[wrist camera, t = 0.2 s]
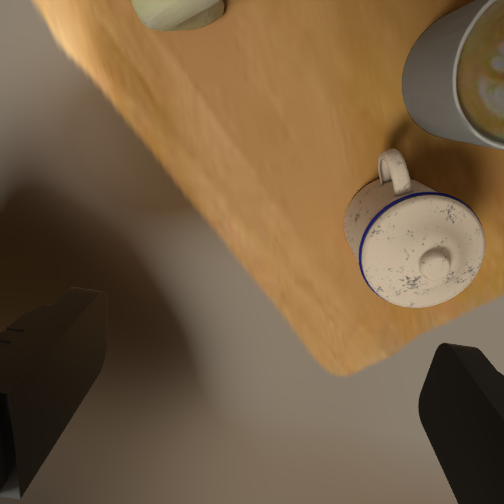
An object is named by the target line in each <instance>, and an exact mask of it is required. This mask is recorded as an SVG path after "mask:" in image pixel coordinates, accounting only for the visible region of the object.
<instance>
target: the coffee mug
mask: <svg viewBox="0 0 504 504" xmlns="http://www.w3.org/2000/svg"><path fill="white" fill-rule="evenodd" d="M402 94H403V99H404V103H405V106H406V109H407V111H408V113H409V115H410V116H411V118H412V119H413V120H414V122H415V123H416V124H417V125H418V126H419V127H421V128H422V129H423V130H424V131H426V132H428V133H429V134H432V135H434V136H437V137H441V138H446V139H451V140H456V141H460V142H465V143H470V144H475V145H480V146H485V147H490V148H495V149H500V150H504V0H475V1H473V2H471V3H469V4H467V5H465V6H463V7H461V8H459V9H457V10H455V11H453V12H451V13H449V14H447V15H445V16H444V17H442V18H440V19H439V20H437V21H435V22H434V23H433V24H432V25H431V26H429V27H428V28H427V29H426V30H425V31H424V32H423V33H422V34H421V36H420V37H419V38H418V39H417V41H416V42H415V44H414V46H413V47H412V49H411V51H410V53H409V55H408V57H407V60H406V63H405V66H404V70H403V75H402Z"/></svg>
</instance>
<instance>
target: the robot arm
mask: <svg viewBox="0 0 504 504" xmlns="http://www.w3.org/2000/svg"><path fill="white" fill-rule="evenodd" d="M106 351H107V296H106V294H105V292H102V291H95V290H88V289H81V288H75V287H72V288H70V289H69V290H67V291H66V292H65V293H64V294H63V295H62V296H61V297H60V298H59V299H58V300H57V301H56V302H54V303H53V304H52V305H42V306H40V307H37V308H35V309H33V310H31V311H28V312H26V313H24V314H22V315H21V316H20V317H18V318H17V319H16V320H15V321H14V322H13V323H11V324H10V325H9V326H8V327H7V328H6V331H2V332H1V333H0V496H2V497H8V498H15V499H21V497H22V496H23V494H24V492H25V491H26V489H27V488H28V486H29V485H30V483H31V482H32V480H33V478H34V476H35V475H36V474H37V472H38V470H39V469H40V467H41V465H42V464H43V463H44V461H45V459H46V458H47V456H48V455H49V453H50V451H51V450H52V448H53V446H54V445H55V444H56V442H57V440H58V439H59V437H60V436H61V434H62V432H63V431H64V429H65V428H66V426H67V425H68V423H69V421H70V420H71V418H72V417H73V415H74V413H75V412H76V410H77V409H78V407H79V405H80V404H81V402H82V401H83V399H84V398H85V396H86V394H87V393H88V391H89V390H90V388H91V387H92V385H93V383H94V382H95V380H96V379H97V377H98V375H99V374H100V372H101V370H102V367H103V364H104V361H105V357H106ZM418 407H419V416H420V420H421V423H422V425H423V427H424V430H425V432H426V434H427V436H428V438H429V440H430V443H431V445H432V447H433V449H434V451H435V454H436V456H437V458H438V460H439V462H440V465H441V467H442V469H443V471H444V473H445V476H446V478H447V480H448V482H449V484H450V487H451V488H452V491H453V493H454V495H455V497H456V499H457V502H458V504H504V375H502V374H501V373H500V372H498V371H497V370H496V369H495V368H494V366H493V365H492V364H491V363H490V361H489V360H488V359H487V358H486V357H485V355H484V354H483V353H482V352H481V351H480V350H479V349H478V348H475V347H469V346H462V345H456V344H449V343H442V344H441V345H439V346H438V348H437V350H436V352H435V355H434V358H433V360H432V363H431V366H430V368H429V371H428V374H427V377H426V379H425V382H424V385H423V388H422V390H421V393H420V397H419V406H418Z"/></svg>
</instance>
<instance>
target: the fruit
mask: <svg viewBox="0 0 504 504" xmlns="http://www.w3.org/2000/svg"><path fill="white" fill-rule="evenodd" d="M132 4H133V7H134V10H135V12H136V13H137V15H138V16H139V18H140V20H141V21H142V23H143V24H144V25H145V26H147V27H148V28H150V29H153V30H159V31H177V30H194V29H198V28H201V27H204V26H207V25H209V24H210V23H212V22H214V21H215V20H217V19H218V18H219V17H221V16H222V15H223V12H224V2H223V0H132Z"/></svg>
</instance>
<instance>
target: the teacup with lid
mask: <svg viewBox="0 0 504 504" xmlns="http://www.w3.org/2000/svg"><path fill="white" fill-rule="evenodd" d="M378 171H379V177H380V179H378V180H375V181H373V182H371V183H370V184H368V185H366V186H365V187H364V188H362V189H361V190H360V191H359V192H358V193H357V194H356V195H355V196H354V198H353V199H352V201H351V202H350V204H349V206H348V208H347V211H346V214H345V219H344V231H345V236H346V239H347V242H348V244H349V246H350V247H351V249H352V251H353V253H354V255H355V256H356V258H357V260H358V262H359V265H360V270H361V273H362V275H363V278H364V280H365V281H366V283H367V284H368V286H369V287H370V288H371V289H372V290H373V291H374V292H375V293H376V294H377V295H378V296H380V297H381V298H383V299H384V300H386V301H388V302H391V303H393V304H396V305H399V306H403V307H411V308H421V307H429V306H433V305H437V304H440V303H443V302H445V301H447V300H449V299H451V298H453V297H454V296H456V295H457V294H459V293H460V292H461V291H463V290H464V289H465V288H466V287H467V286H468V285H469V284H470V283H471V281H472V280H473V279H474V277H475V276H476V274H477V273H478V271H479V269H480V267H481V264H482V261H483V258H484V253H485V236H484V232H483V228H482V225H481V223H480V221H479V219H478V217H477V216H476V214H475V213H474V212H473V210H472V209H471V208H470V207H469V206H468V205H466V204H465V203H464V202H462V201H461V200H459V199H457V198H455V197H453V196H450V195H448V194H444V193H438V192H437V191H435V190H433V189H431V188H429V187H427V186H425V185H423V184H422V183H420V182H418V181H416V180H413V179H411V178H410V176H409V172H408V168H407V165H406V162H405V160H404V158H403V156H402V154H401V153H400V152H399V151H398V150H397V149H388V150H385V151H383V152H382V153H381V154H380V156H379V159H378Z"/></svg>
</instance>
